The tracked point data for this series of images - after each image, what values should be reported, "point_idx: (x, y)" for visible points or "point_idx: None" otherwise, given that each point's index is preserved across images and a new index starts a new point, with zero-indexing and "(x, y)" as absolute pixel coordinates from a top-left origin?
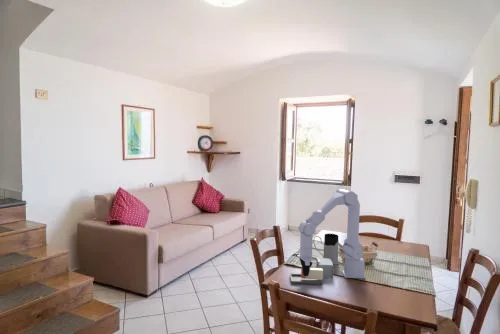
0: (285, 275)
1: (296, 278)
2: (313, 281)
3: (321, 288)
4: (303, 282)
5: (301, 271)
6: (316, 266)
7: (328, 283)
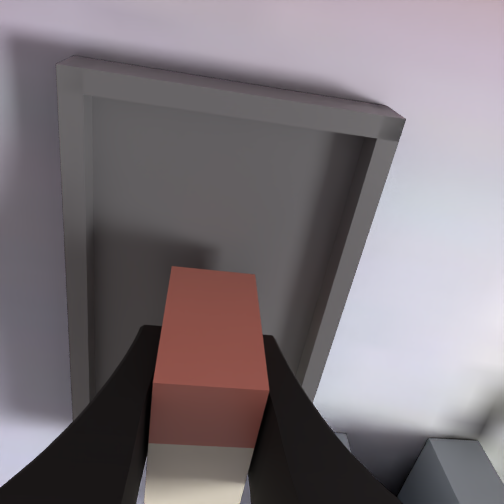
0: (443, 25)
1: (249, 191)
2: (88, 385)
3: (5, 407)
4: (70, 263)
5: (222, 333)
6: (493, 482)
7: (142, 475)
